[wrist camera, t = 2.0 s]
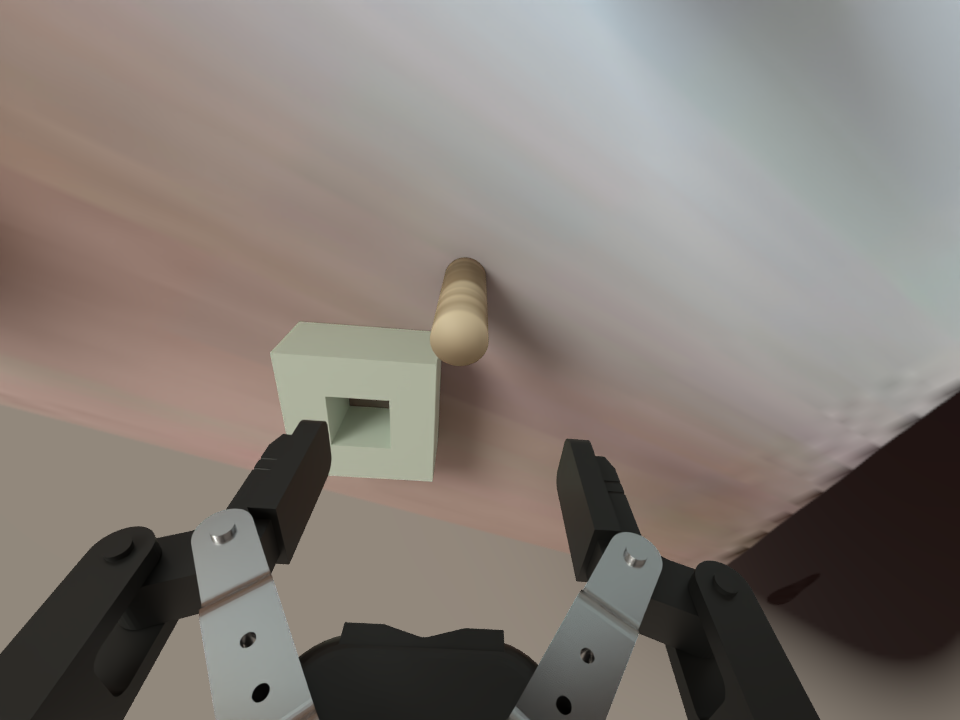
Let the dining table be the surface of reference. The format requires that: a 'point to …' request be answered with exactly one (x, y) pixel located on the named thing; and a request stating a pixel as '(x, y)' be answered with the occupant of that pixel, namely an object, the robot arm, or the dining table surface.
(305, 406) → the hole block
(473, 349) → the peg
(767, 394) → the dining table surface
